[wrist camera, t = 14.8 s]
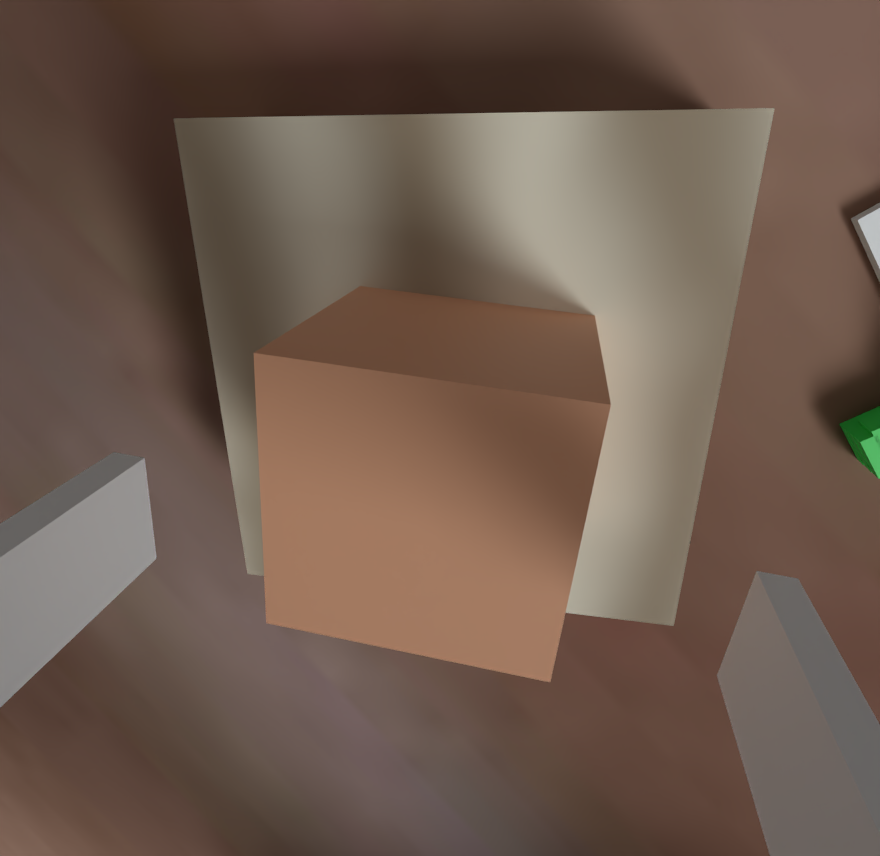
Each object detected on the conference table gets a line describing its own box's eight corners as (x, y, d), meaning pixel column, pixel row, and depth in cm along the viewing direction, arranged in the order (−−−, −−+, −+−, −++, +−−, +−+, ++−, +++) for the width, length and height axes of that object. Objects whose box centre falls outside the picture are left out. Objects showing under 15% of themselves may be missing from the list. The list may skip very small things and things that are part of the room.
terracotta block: (594, 315, 17) (611, 405, 11) (555, 520, 20) (550, 682, 14) (359, 285, 18) (253, 352, 12) (354, 485, 21) (266, 623, 15)
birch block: (718, 121, 20) (774, 108, 15) (651, 530, 27) (673, 626, 21) (266, 127, 23) (173, 118, 17) (306, 497, 29) (247, 573, 24)
